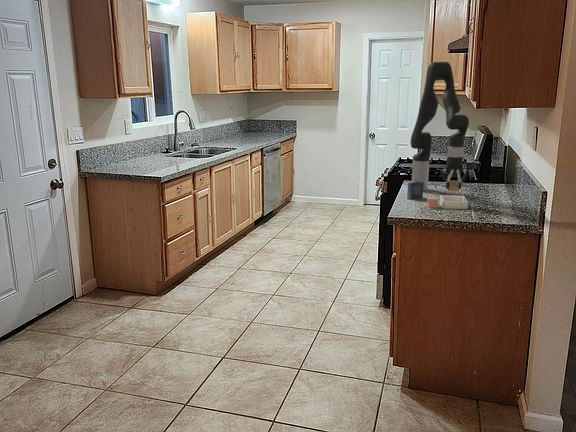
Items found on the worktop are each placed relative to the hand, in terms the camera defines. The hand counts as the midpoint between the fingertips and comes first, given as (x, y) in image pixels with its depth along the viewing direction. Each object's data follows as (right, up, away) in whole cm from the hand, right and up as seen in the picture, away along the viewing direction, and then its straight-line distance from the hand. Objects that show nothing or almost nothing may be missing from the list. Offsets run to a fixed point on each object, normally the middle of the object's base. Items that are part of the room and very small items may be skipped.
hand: (453, 189), depth 255 cm
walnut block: (0, 0, 0) cm, 0 cm away
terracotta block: (-12, -9, -4) cm, 15 cm away
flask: (-15, -4, +17) cm, 23 cm away
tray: (-1, -8, -1) cm, 8 cm away
